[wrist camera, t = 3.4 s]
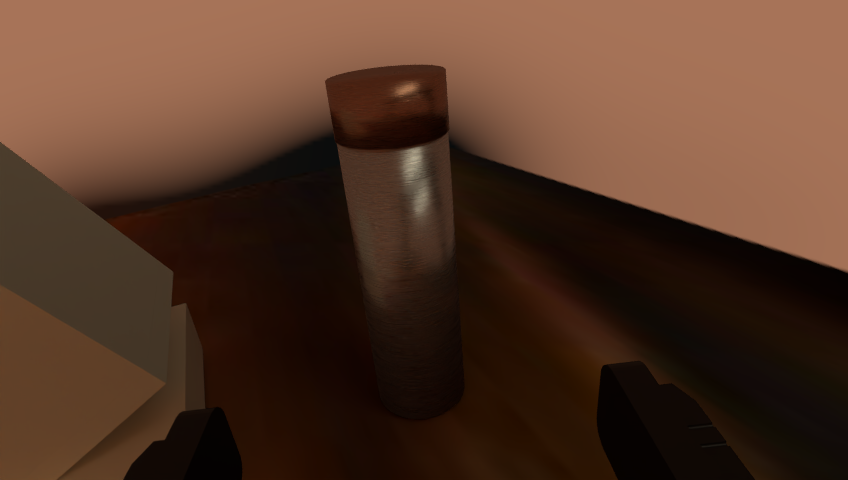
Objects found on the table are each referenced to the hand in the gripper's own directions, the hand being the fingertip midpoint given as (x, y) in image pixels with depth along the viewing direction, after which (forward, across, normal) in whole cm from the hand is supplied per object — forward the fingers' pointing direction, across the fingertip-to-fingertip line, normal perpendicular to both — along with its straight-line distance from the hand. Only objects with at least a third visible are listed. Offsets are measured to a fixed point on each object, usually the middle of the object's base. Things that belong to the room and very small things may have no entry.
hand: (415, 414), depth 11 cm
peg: (+10, 0, +8) cm, 13 cm away
